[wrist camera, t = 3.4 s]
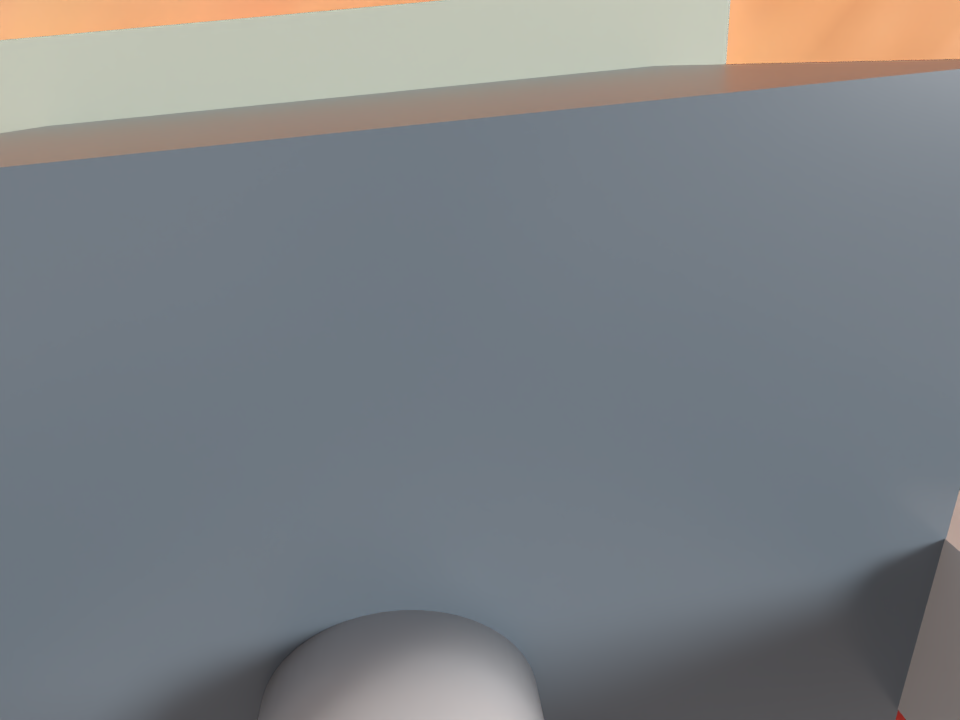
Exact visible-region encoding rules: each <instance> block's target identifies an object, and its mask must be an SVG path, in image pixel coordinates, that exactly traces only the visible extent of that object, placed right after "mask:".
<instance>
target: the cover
mask: <svg viewBox="0 0 960 720" xmlns="http://www.w3.org/2000/svg"><path fill="white" fill-rule="evenodd" d="M959 490H960V59H944V60H898V61H852V62H806V63H761V64H715V65H669V66H648V67H638V68H628V69H618V70H608V71H598V72H587V73H577V74H567V75H557V76H547V77H537V78H527V79H517V80H507V81H497V82H487V83H476V84H466V85H456V86H446V87H436V88H426V89H416V90H406V91H396V92H386V93H376V94H365V95H355V96H345V97H335V98H325V99H315V100H305V101H295V102H285V103H275V104H265V105H254V106H244V107H234V108H224V109H214V110H204V111H194V112H184V113H174V114H164V115H154V116H143V117H133V118H123V119H113V120H103V121H93V122H83V123H73V124H63V125H53V126H44V127H38V128H31V129H25V130H18V131H12V132H5V133H0V720H896V716H897V712H898V706H899V702H900V699H901V695H902V692H903V688H904V684H905V681H906V677H907V674H908V670H909V666H910V663H911V659H912V656H913V652H914V648H915V645H916V641H917V638H918V634H919V630H920V627H921V623H922V620H923V616H924V612H925V609H926V605H927V602H928V598H929V594H930V591H931V587H932V584H933V580H934V576H935V573H936V569H937V566H938V562H939V558H940V555H941V551H942V548H943V544H944V540H945V539H946V537H947V533H948V530H949V526H950V522H951V519H952V515H953V512H954V508H955V505H956V501H957V497H958V494H959Z"/></svg>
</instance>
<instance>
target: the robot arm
mask: <svg viewBox="0 0 960 720" xmlns="http://www.w3.org/2000/svg"><path fill="white" fill-rule="evenodd" d="M898 710H899V711H900V713H901V714H902V715H903V717H904V718H905V719H906V720H960V490H959V494H958V497H957V501H956V505H955V508H954V512H953V515H952V519H951V522H950V526H949V530H948V533H947V537H946V539H945V540H944V544H943V548H942V551H941V555H940V558H939V562H938V566H937V569H936V573H935V576H934V580H933V584H932V587H931V591H930V594H929V598H928V602H927V605H926V609H925V612H924V616H923V620H922V623H921V627H920V630H919V634H918V638H917V641H916V645H915V648H914V652H913V656H912V659H911V663H910V666H909V670H908V674H907V677H906V681H905V684H904V688H903V692H902V695H901V699H900V702H899V706H898Z"/></svg>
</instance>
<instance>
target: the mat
mask: <svg viewBox="0 0 960 720" xmlns="http://www.w3.org/2000/svg"><path fill="white" fill-rule="evenodd" d="M729 12H730V0H441V1H430V2H419V3H408V4H397V5H386V6H375V7H364V8H353V9H342V10H330V11H319V12H308V13H297V14H286V15H275V16H264V17H253V18H242V19H231V20H220V21H209V22H198V23H187V24H176V25H164V26H153V27H142V28H131V29H120V30H109V31H98V32H87V33H76V34H65V35H54V36H43V37H32V38H21V39H10V40H0V133H5V132H12V131H18V130H25V129H31V128H38V127H44V126H53V125H63V124H73V123H83V122H93V121H103V120H113V119H123V118H133V117H143V116H154V115H164V114H174V113H184V112H194V111H204V110H214V109H224V108H234V107H244V106H254V105H265V104H275V103H285V102H295V101H305V100H315V99H325V98H335V97H345V96H355V95H365V94H376V93H386V92H396V91H406V90H416V89H426V88H436V87H446V86H456V85H466V84H476V83H487V82H497V81H507V80H517V79H527V78H537V77H547V76H557V75H567V74H577V73H587V72H598V71H608V70H618V69H628V68H638V67H648V66H669V65H715V64H726V56H727V41H728V26H729Z"/></svg>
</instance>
